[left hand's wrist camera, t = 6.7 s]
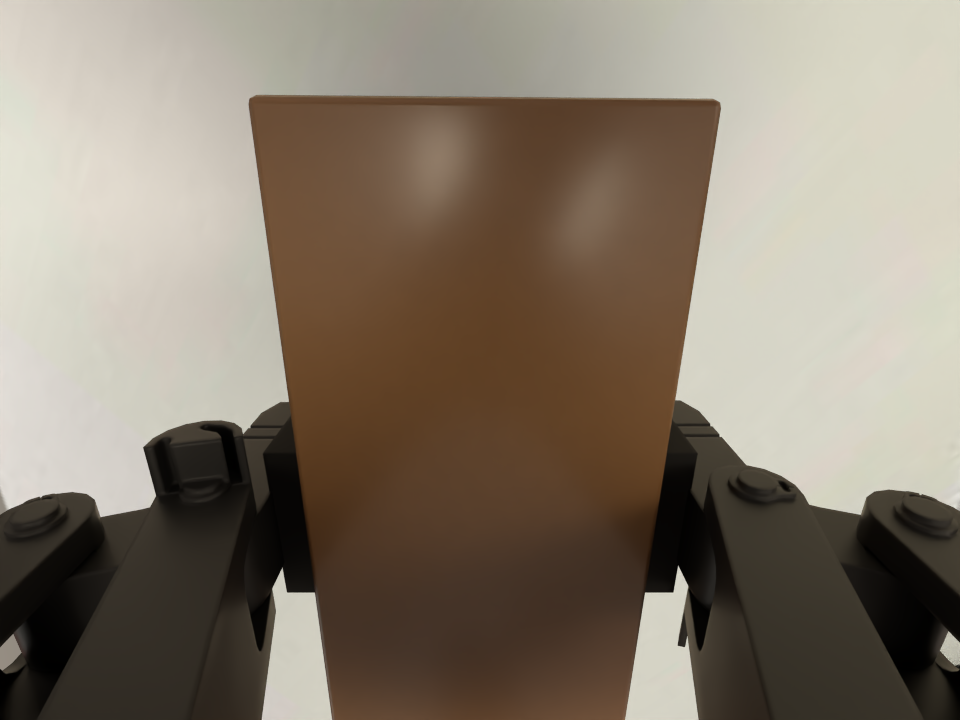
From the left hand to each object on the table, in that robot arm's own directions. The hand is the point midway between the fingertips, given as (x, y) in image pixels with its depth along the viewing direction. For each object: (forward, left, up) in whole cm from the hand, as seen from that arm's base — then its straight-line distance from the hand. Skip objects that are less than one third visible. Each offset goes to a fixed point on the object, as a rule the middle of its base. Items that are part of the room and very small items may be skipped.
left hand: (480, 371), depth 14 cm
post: (+20, 0, 0) cm, 20 cm away
